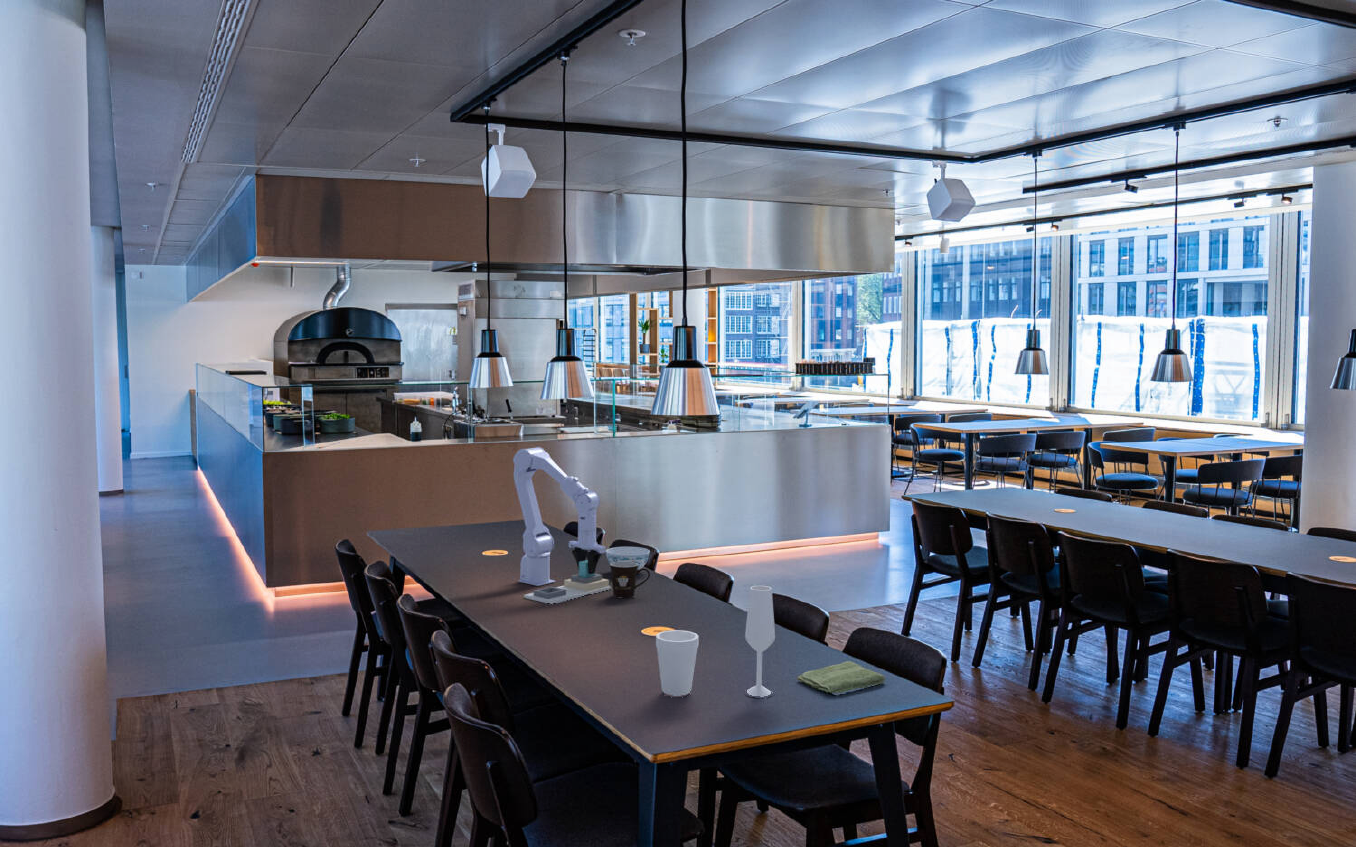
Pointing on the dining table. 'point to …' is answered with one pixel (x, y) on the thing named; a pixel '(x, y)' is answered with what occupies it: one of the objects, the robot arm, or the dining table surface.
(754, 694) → the champagne flute
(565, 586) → the panel
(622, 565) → the coffee mug
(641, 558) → the chinaware
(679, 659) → the foam cup
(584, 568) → the plug
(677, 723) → the dining table surface
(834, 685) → the washcloth
